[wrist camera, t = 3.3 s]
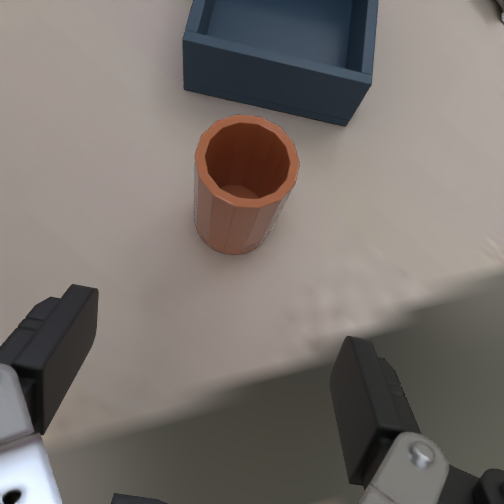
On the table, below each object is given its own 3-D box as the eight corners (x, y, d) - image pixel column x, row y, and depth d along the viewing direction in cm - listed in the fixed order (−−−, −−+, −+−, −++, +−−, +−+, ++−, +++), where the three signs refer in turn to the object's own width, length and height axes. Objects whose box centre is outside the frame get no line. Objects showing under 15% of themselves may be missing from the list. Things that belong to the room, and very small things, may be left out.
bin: (346, 126, 32) (371, 84, 27) (183, 89, 31) (182, 39, 26) (358, 4, 36) (383, -51, 31) (214, -33, 35) (218, -95, 30)
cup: (177, 221, 28) (172, 161, 20) (228, 169, 29) (241, 96, 22) (237, 271, 27) (255, 229, 20) (285, 215, 29) (319, 157, 21)
